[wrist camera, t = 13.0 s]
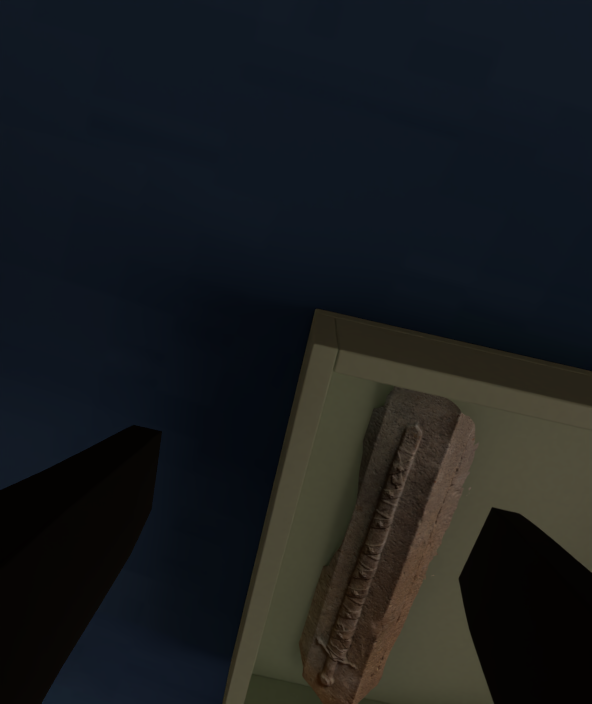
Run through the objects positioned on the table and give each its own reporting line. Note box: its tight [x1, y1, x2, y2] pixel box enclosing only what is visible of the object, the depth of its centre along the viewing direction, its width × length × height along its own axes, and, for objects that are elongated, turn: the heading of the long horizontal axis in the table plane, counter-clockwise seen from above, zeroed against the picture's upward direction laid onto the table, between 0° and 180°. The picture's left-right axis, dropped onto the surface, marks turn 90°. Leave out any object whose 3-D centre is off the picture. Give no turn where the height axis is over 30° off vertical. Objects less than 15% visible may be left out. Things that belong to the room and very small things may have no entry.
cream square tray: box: [222, 309, 592, 704], centre depth 18 cm, size 22×22×5 cm
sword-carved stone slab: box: [299, 386, 479, 704], centre depth 20 cm, size 18×3×4 cm
